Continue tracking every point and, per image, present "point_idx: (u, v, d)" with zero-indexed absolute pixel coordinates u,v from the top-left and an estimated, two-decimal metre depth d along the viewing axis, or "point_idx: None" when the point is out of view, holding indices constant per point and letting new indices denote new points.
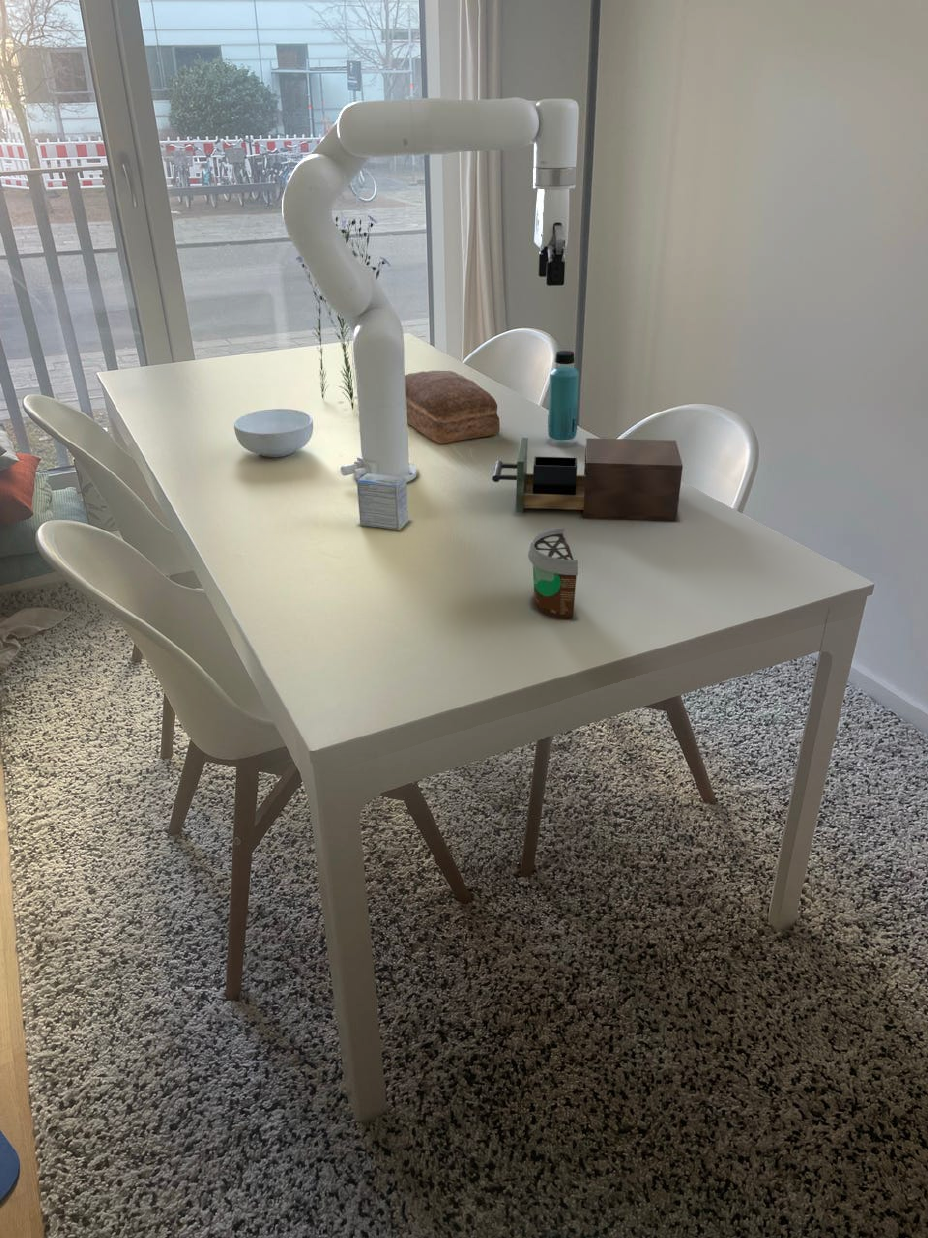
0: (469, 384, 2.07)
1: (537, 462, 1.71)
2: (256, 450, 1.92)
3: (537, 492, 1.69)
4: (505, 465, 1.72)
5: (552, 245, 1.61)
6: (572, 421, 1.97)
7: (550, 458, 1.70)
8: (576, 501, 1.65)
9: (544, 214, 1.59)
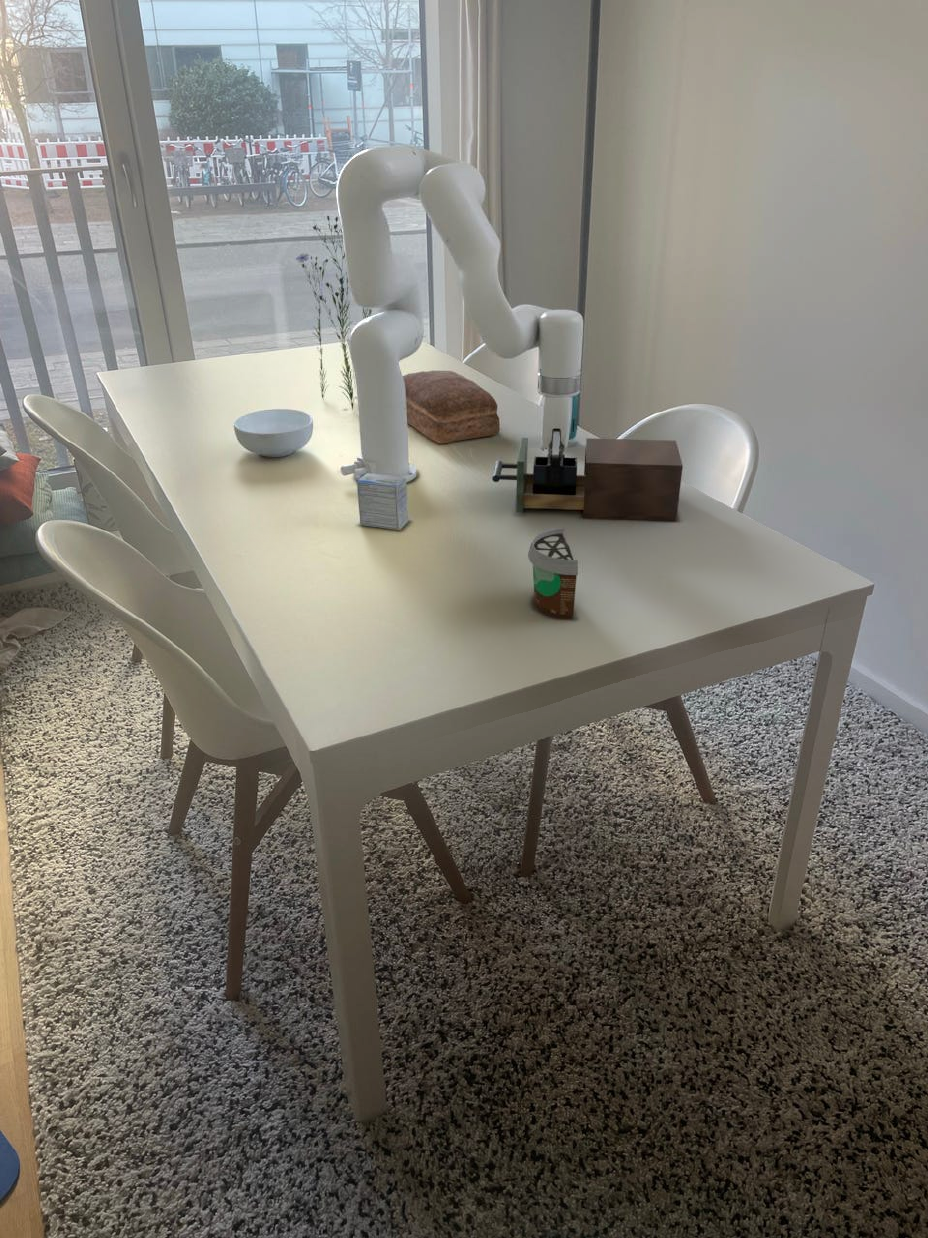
0: (469, 384, 2.07)
1: (537, 462, 1.71)
2: (256, 450, 1.92)
3: (537, 492, 1.69)
4: (505, 465, 1.72)
5: (552, 451, 1.63)
6: (572, 421, 1.97)
7: None
8: (576, 501, 1.65)
9: (543, 420, 1.60)
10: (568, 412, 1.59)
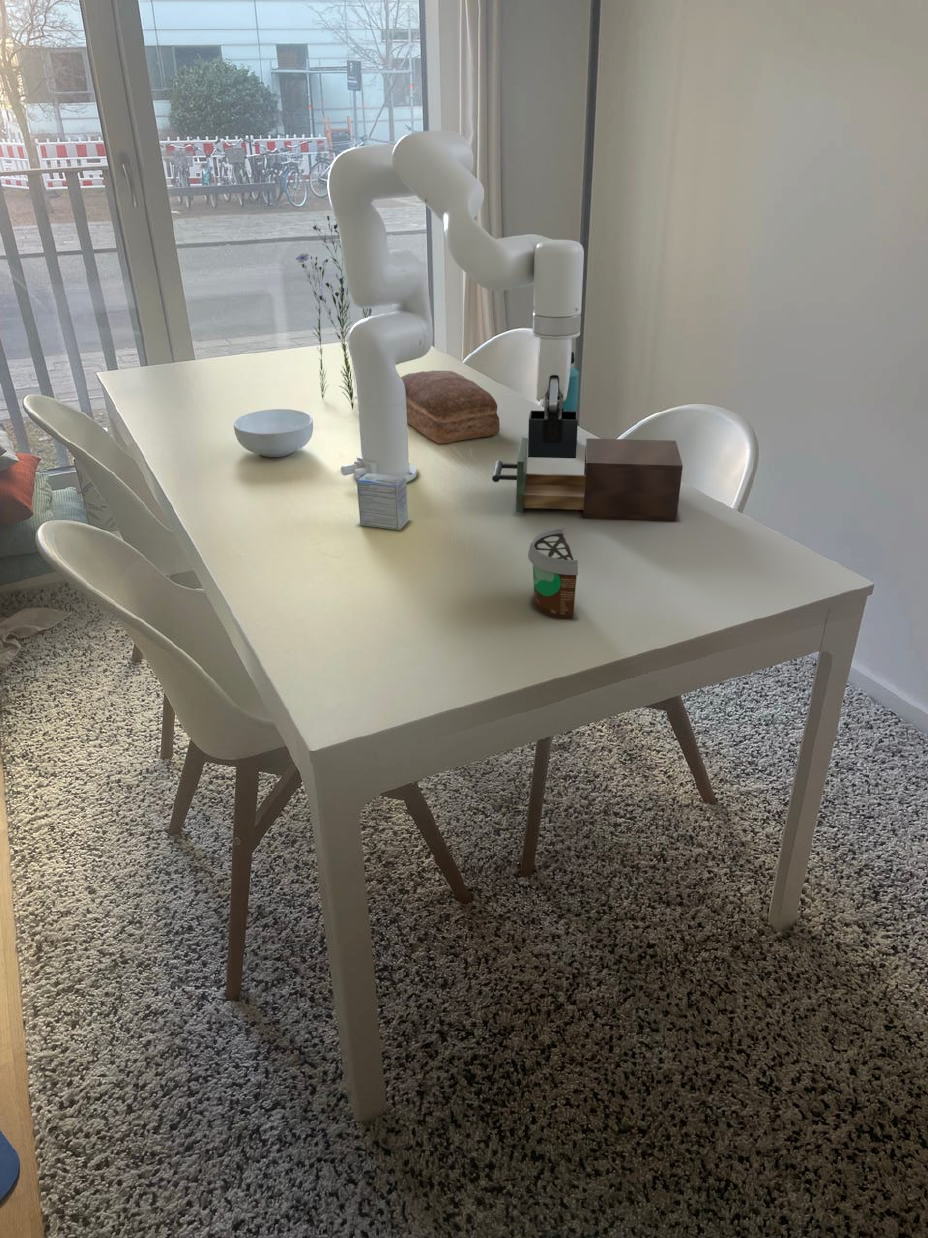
0: (469, 384, 2.07)
1: (533, 417, 1.53)
2: (256, 450, 1.92)
3: (533, 450, 1.50)
4: (505, 465, 1.72)
5: (549, 401, 1.45)
6: None
7: None
8: (576, 501, 1.65)
9: (539, 366, 1.41)
10: (567, 356, 1.41)
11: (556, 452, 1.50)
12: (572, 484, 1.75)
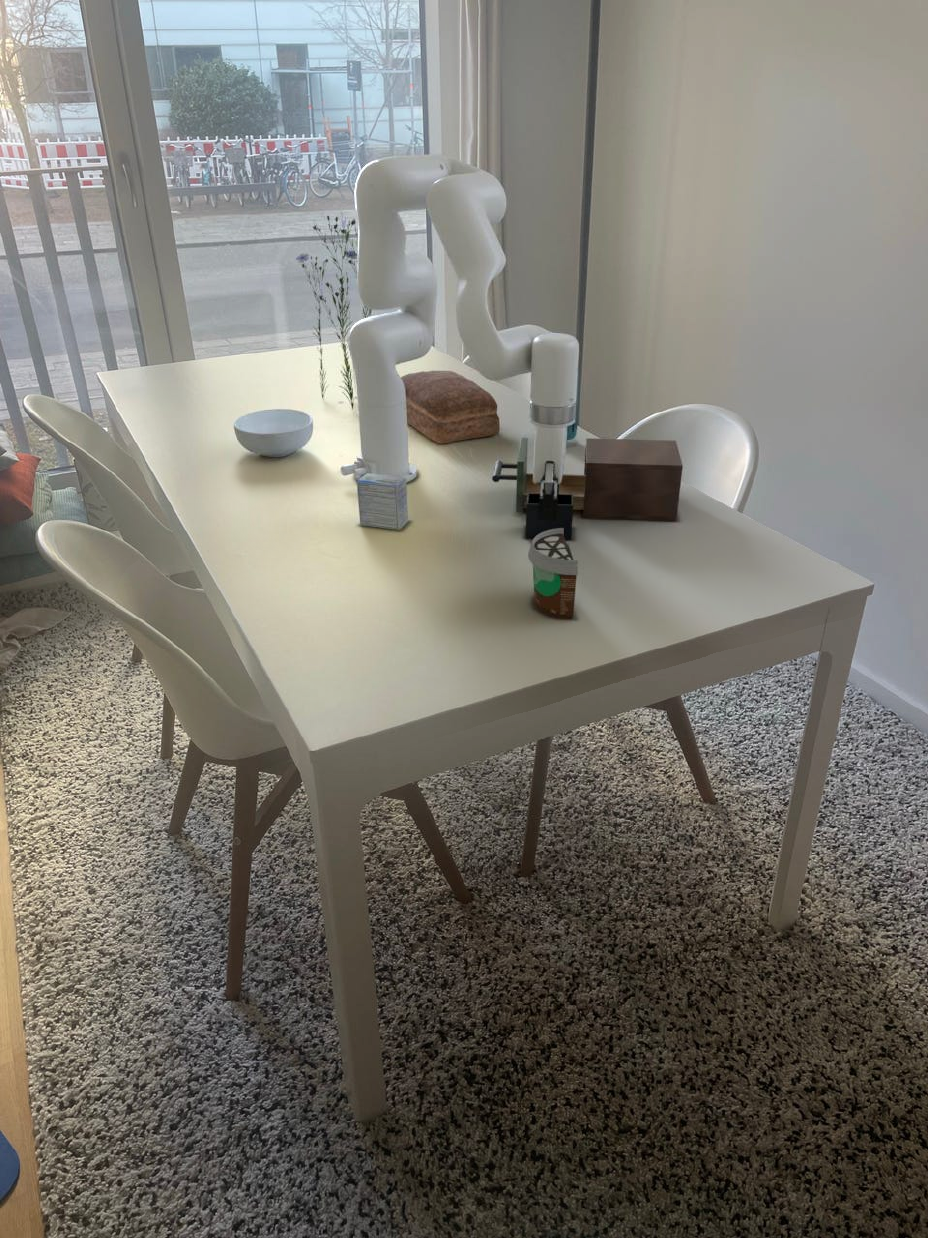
0: (469, 384, 2.07)
1: (530, 499, 1.59)
2: (256, 450, 1.92)
3: (530, 531, 1.57)
4: (505, 465, 1.72)
5: (545, 481, 1.50)
6: None
7: None
8: (576, 501, 1.65)
9: (536, 452, 1.48)
10: (562, 443, 1.47)
11: None
12: (572, 484, 1.75)
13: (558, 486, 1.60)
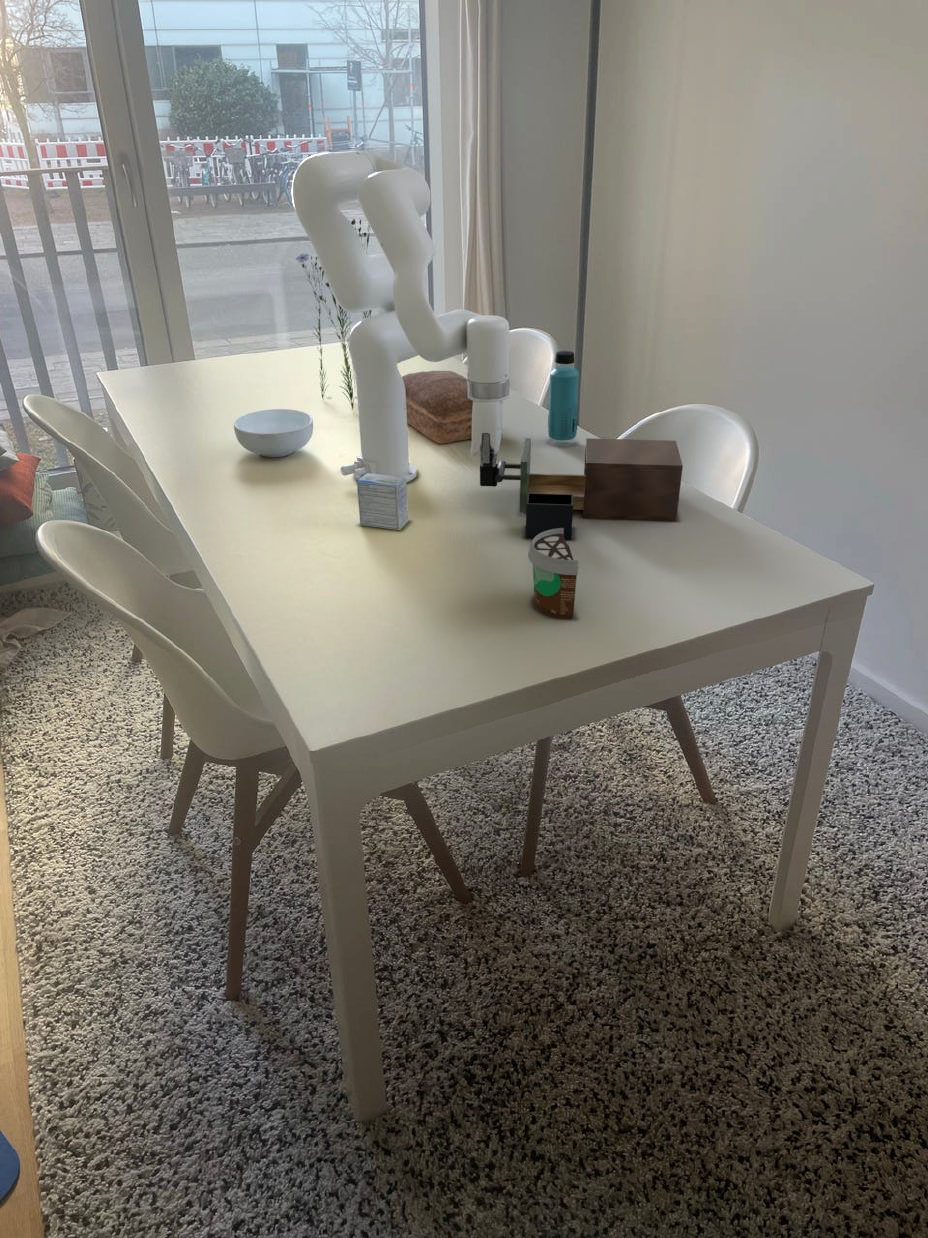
0: None
1: (530, 499, 1.59)
2: (256, 450, 1.92)
3: (530, 531, 1.57)
4: (508, 465, 1.72)
5: None
6: (572, 421, 1.97)
7: (544, 495, 1.59)
8: (579, 501, 1.65)
9: (473, 424, 1.61)
10: (496, 416, 1.61)
11: None
12: (575, 484, 1.75)
13: None
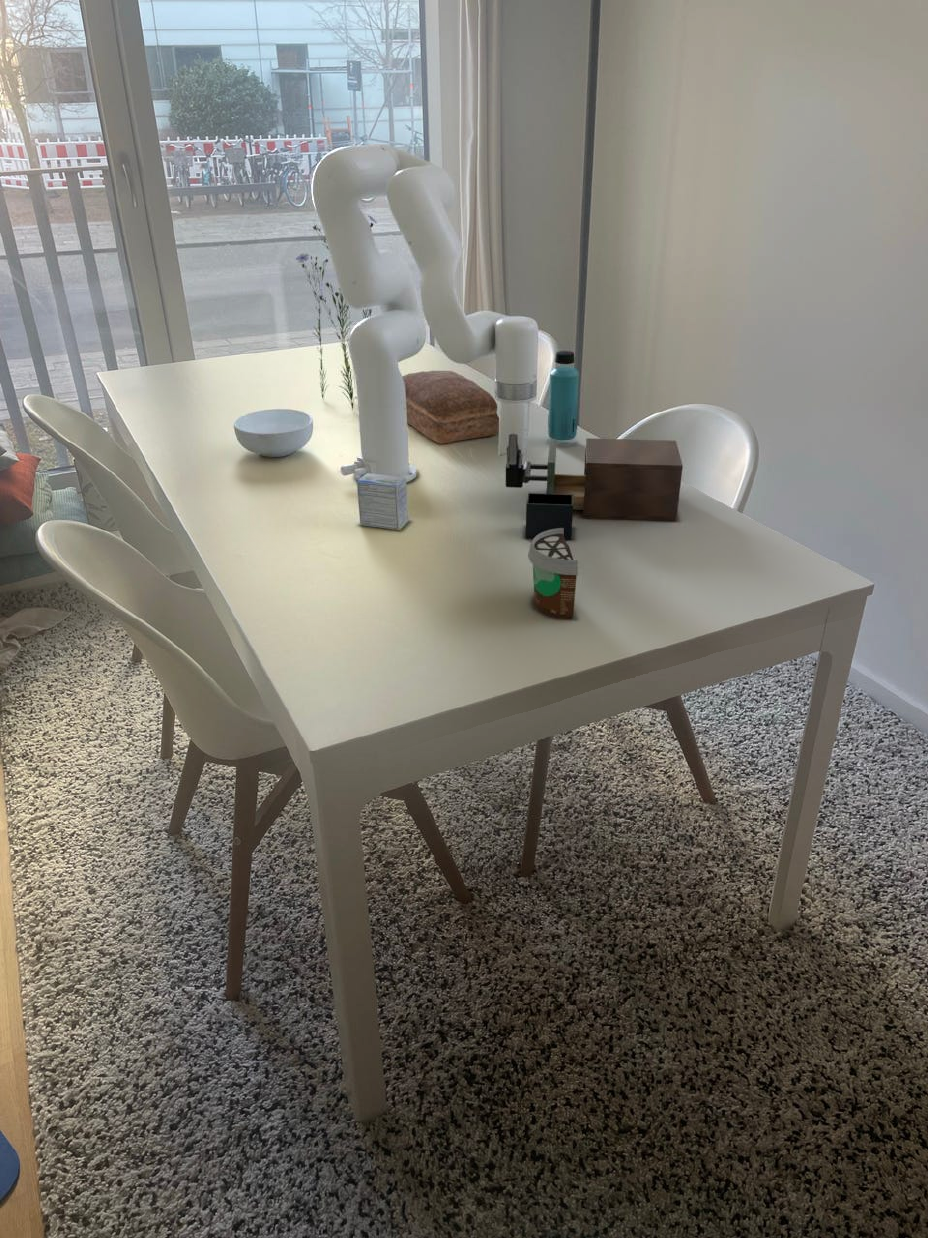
0: (469, 384, 2.07)
1: (530, 499, 1.59)
2: (256, 450, 1.92)
3: (530, 531, 1.57)
4: (534, 466, 1.72)
5: (510, 455, 1.66)
6: (572, 421, 1.97)
7: (544, 495, 1.59)
8: None
9: (500, 426, 1.61)
10: (524, 418, 1.60)
11: None
12: None
13: None
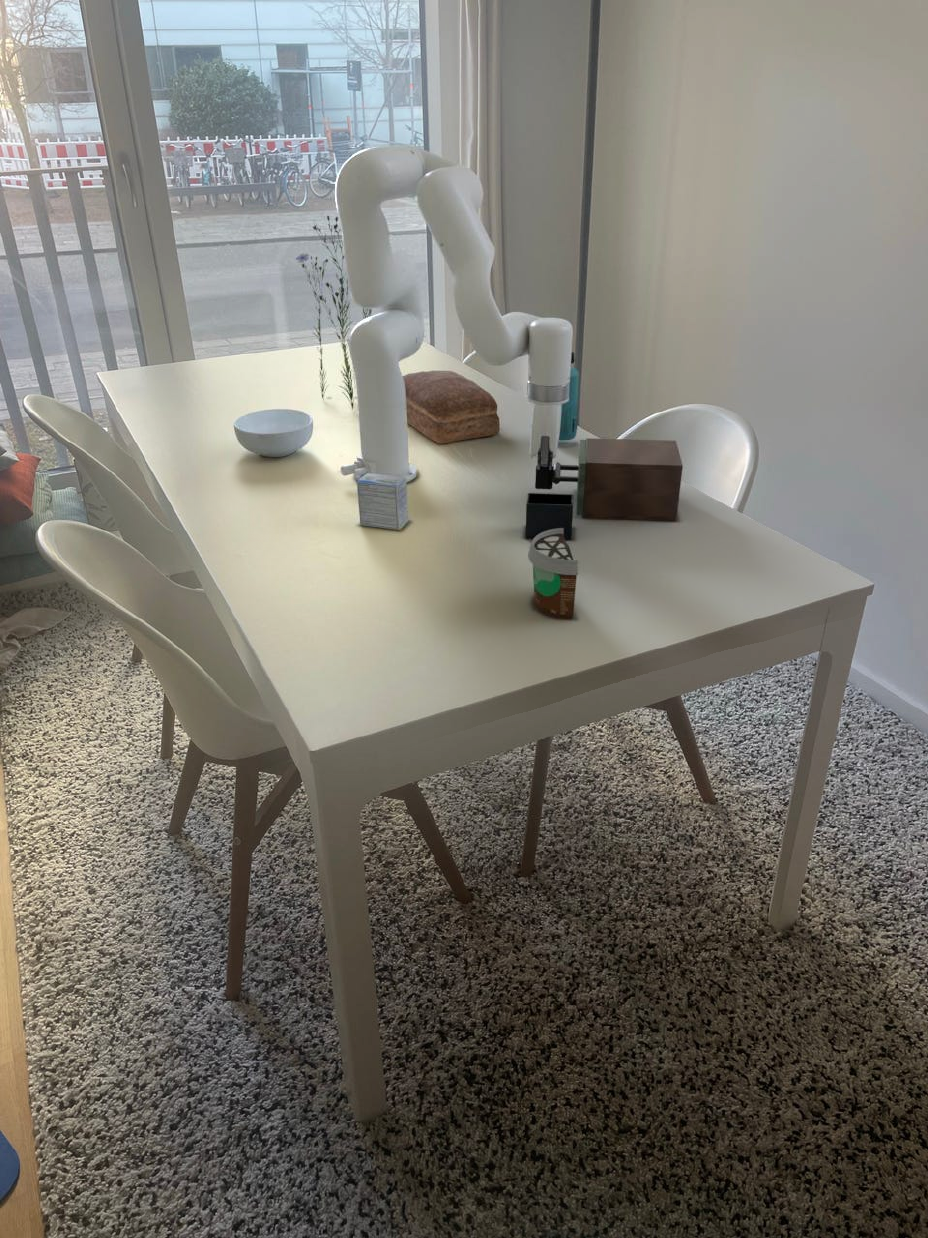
0: (469, 384, 2.07)
1: (530, 499, 1.59)
2: (256, 450, 1.92)
3: (530, 531, 1.57)
4: (563, 467, 1.71)
5: (541, 457, 1.66)
6: (572, 421, 1.97)
7: (544, 495, 1.59)
8: None
9: (532, 427, 1.60)
10: (557, 420, 1.60)
11: None
12: None
13: None
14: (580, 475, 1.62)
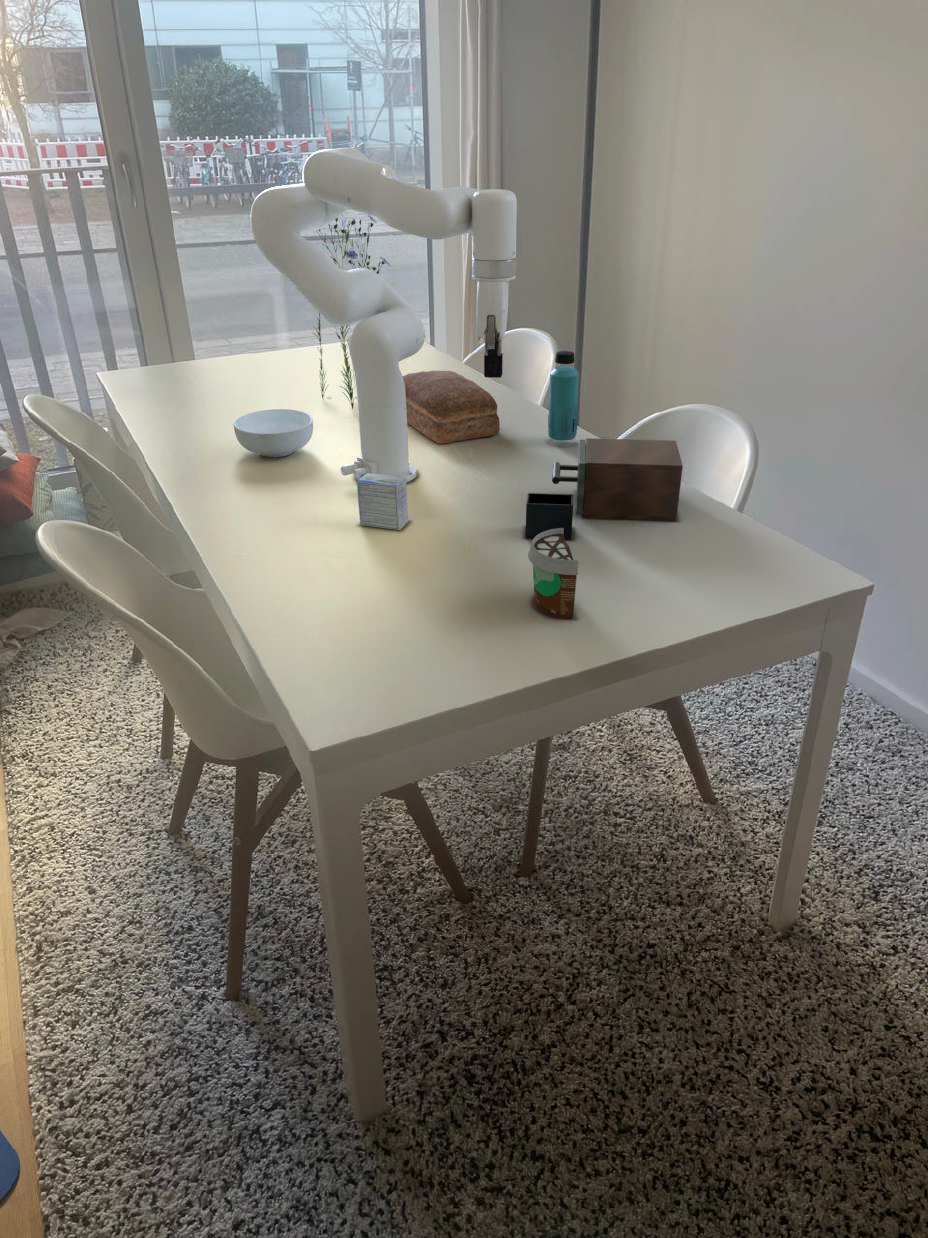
0: (469, 384, 2.07)
1: (530, 499, 1.59)
2: (256, 450, 1.92)
3: (530, 531, 1.57)
4: (563, 467, 1.71)
5: None
6: (572, 421, 1.97)
7: (544, 495, 1.59)
8: None
9: (477, 306, 1.54)
10: (503, 297, 1.53)
11: None
12: None
13: (501, 363, 1.63)
14: (580, 475, 1.62)
